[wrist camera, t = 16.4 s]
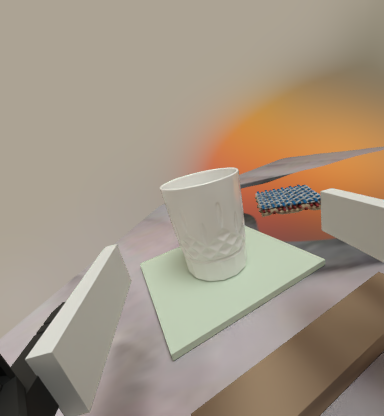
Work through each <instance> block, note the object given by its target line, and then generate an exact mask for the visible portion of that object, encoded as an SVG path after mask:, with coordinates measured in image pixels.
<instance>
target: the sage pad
mask: <svg viewBox="0 0 384 416" xmlns="http://www.w3.org/2000/svg"><path fill="white" fill-rule="evenodd" d="M244 227H245V243H246V251H247V261H246V266H245V267H244V268H243V269H242V270H241V271H240V272H239V273H238V274H237V275H235V276H233V277H230V278H228V279H225V280H220V281H205V280H201V279H197V278H196V277H195V276H194V275H193V274H192V273H190V271H189V269H188V266H187V263H186V260H185V257H184V253H183V251H182V249H181V248H180V247H178V248H176V249H173V250H171V251H169V252H166V253H164V254H162V255H159V256H157V257H155V258H152V259H150V260H148V261H145V262H143V263H141V264H140V265H141V268H142V271H143V274H144V277H145V280H146V283H147V286H148V289H149V292H150V295H151V298H152V301H153V303H154V306H155V309H156V312H157V315H158V318H159V321H160V324H161V327H162V330H163V333H164V336H165V339H166V342H167V345H168V348H169V351H170V353H171V356H172V359H173V361H174V360H176V359H177V358H179V357H181V356H182V355H184V354H185V353H187V352H188V351H190V350H192V349H193V348H195V347H196V346H198V345H199V344H201V343H203V342H204V341H206V340H207V339H209V338H210V337H212V336H214V335H215V334H217V333H218V332H220V331H221V330H223V329H225V328H226V327H228V326H229V325H231V324H233V323H234V322H236V321H237V320H239V319H240V318H242V317H244V316H245V315H247V314H248V313H250V312H251V311H253V310H255V309H256V308H258V307H259V306H261V305H262V304H264V303H266V302H267V301H269V300H270V299H272V298H273V297H275V296H277V295H278V294H280V293H281V292H283V291H285V290H286V289H288V288H289V287H291V286H292V285H294V284H296V283H297V282H299V281H300V280H302V279H303V278H305V277H307V276H308V275H310V274H311V273H313V272H314V271H316V270H318V269H319V268H321V267H322V266H324V265H325V259H323V258H321V257H318V256H316V255H313V254H311V253H309V252H306V251H304V250H301V249H299V248H297V247H294V246H292V245H289V244H287V243H285V242H282V241H280V240H278V239H275V238H273V237H270V236H268V235H266V234H263V233H261V232H258V231H256V230H254V229H251V228H249V227H246V226H244Z"/></svg>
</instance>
